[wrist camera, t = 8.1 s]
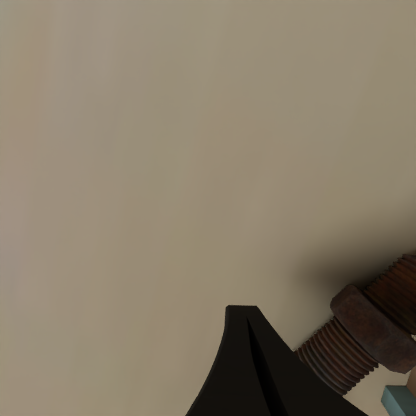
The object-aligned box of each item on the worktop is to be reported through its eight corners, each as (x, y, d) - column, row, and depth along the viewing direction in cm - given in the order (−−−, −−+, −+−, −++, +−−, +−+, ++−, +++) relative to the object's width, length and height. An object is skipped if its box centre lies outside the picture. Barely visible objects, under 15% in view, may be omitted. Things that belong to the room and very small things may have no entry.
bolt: (395, 248, 19) (246, 385, 22) (378, 222, 15) (204, 388, 18) (496, 321, 15) (294, 479, 17) (501, 306, 11) (251, 505, 14)
